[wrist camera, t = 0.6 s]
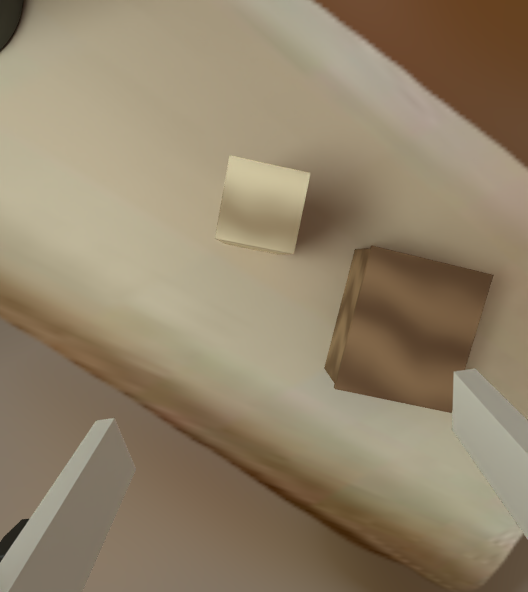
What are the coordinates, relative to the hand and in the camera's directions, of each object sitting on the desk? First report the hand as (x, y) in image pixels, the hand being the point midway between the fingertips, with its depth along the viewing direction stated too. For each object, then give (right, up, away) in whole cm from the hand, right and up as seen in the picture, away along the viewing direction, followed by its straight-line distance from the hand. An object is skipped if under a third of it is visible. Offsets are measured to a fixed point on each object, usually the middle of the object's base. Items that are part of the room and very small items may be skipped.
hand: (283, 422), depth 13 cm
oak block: (-1, +13, +24) cm, 27 cm away
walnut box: (+14, +2, +26) cm, 29 cm away
